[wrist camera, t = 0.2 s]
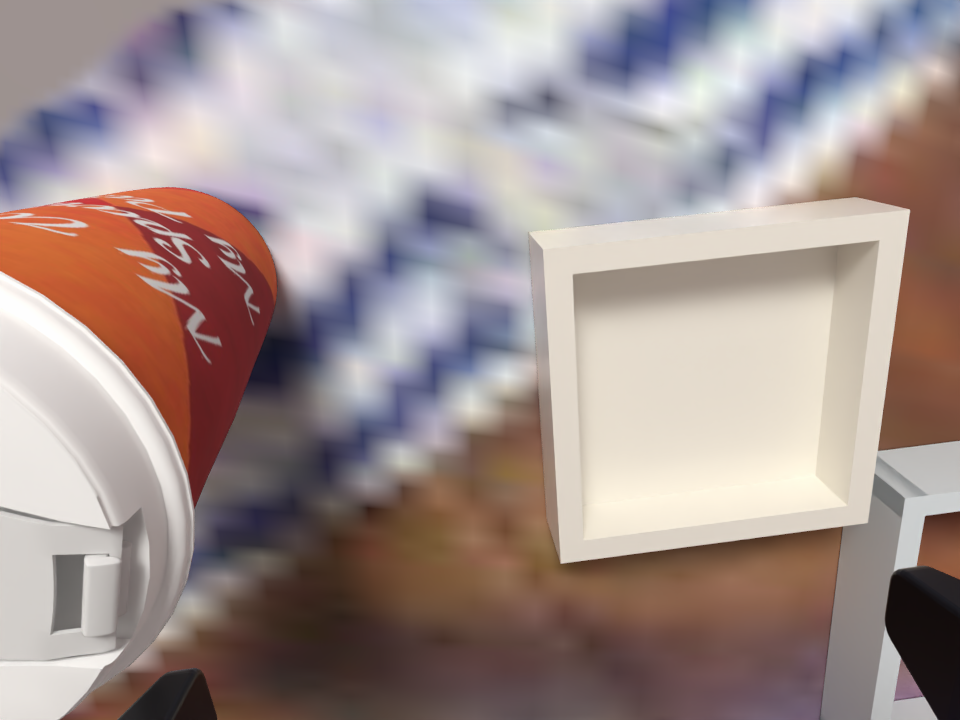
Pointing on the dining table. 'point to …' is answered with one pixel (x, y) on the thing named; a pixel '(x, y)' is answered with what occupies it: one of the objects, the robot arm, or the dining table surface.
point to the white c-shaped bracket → (883, 581)
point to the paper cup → (112, 422)
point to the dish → (713, 373)
